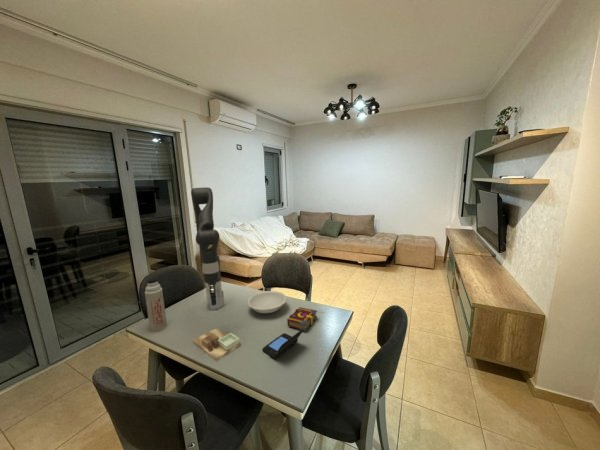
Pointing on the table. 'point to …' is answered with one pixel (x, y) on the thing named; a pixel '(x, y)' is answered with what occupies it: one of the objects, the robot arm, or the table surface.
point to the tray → (228, 341)
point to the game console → (281, 344)
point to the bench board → (216, 351)
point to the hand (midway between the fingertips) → (213, 302)
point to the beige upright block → (209, 340)
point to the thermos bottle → (155, 306)
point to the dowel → (216, 302)
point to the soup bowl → (267, 301)
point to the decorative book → (302, 318)
